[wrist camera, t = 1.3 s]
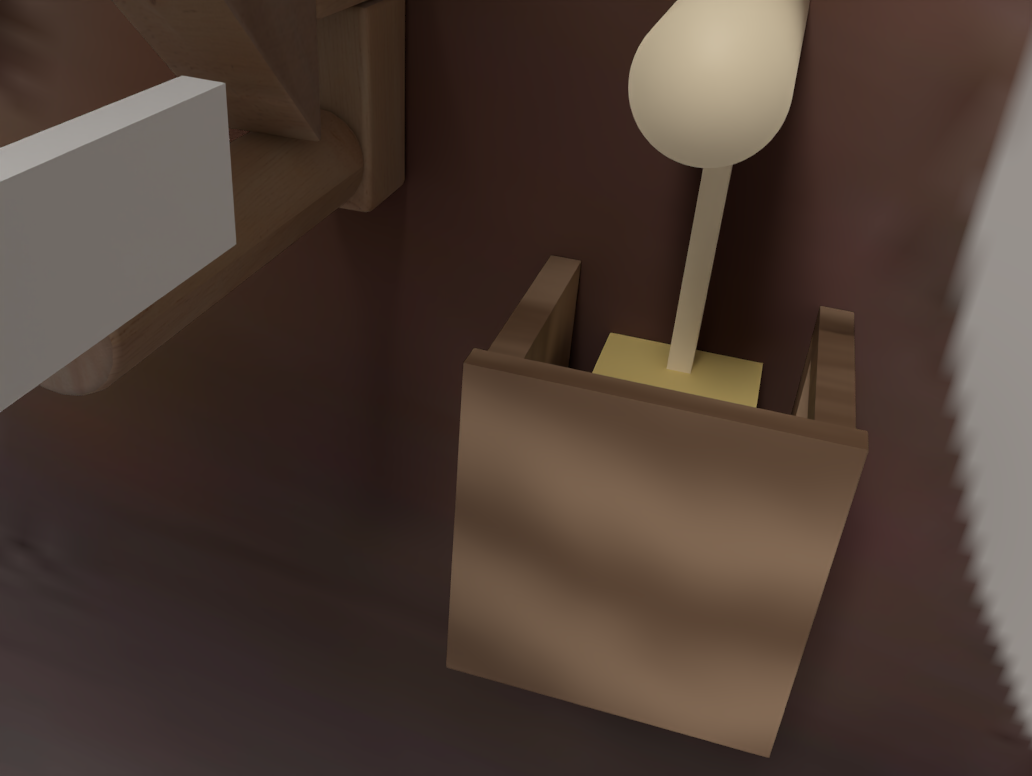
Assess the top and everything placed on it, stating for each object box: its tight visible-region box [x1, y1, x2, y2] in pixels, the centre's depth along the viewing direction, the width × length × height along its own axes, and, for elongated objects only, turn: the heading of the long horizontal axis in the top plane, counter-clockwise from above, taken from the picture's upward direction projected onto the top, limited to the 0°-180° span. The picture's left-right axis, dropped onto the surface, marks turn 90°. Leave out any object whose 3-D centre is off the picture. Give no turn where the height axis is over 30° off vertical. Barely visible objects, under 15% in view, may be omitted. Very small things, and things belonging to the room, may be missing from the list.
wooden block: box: [39, 0, 405, 396], centre depth 28 cm, size 4×11×18 cm, turn 176°
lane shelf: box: [446, 255, 869, 758], centre depth 36 cm, size 13×12×10 cm
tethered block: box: [592, 0, 810, 408], centre depth 31 cm, size 22×6×12 cm, turn 175°
